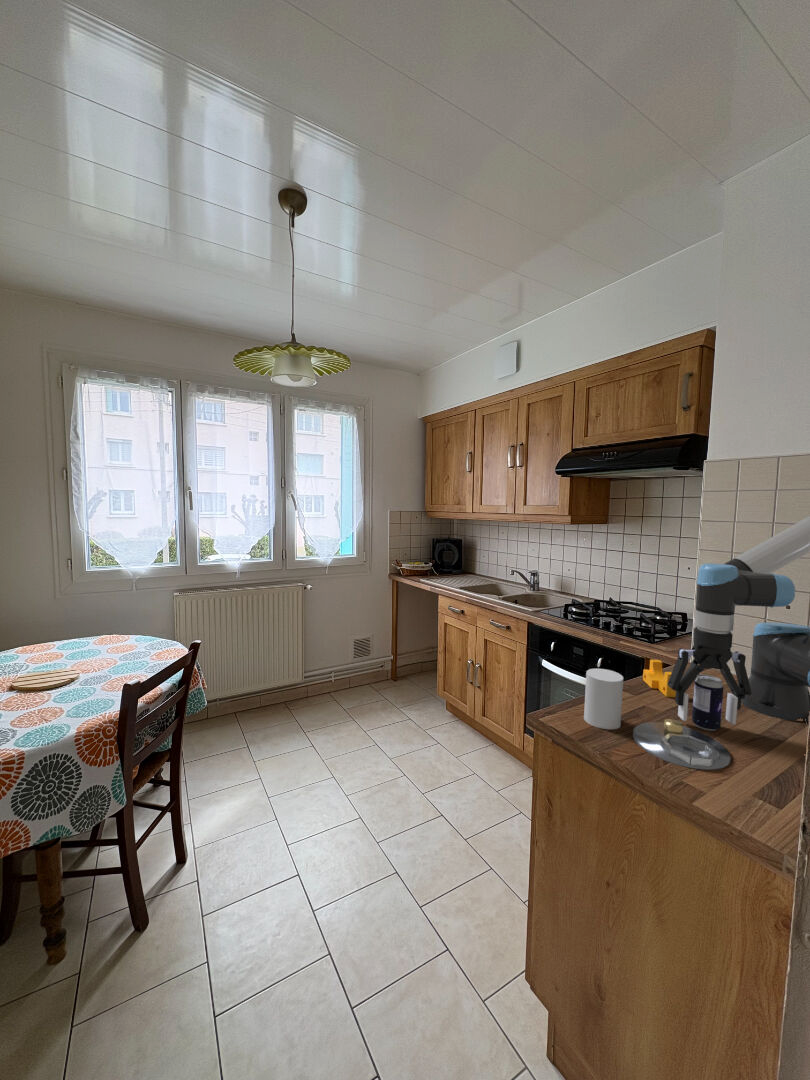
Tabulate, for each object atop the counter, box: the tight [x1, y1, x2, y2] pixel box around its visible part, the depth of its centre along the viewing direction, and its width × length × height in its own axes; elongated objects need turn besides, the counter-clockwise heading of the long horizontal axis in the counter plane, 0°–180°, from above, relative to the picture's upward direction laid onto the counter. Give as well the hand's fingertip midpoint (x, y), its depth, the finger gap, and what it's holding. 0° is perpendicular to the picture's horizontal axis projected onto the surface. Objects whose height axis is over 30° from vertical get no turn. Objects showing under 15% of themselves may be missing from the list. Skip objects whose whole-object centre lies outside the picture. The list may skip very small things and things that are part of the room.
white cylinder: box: [583, 668, 624, 730], centre depth 106 cm, size 8×8×12 cm
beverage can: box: [691, 674, 724, 732], centre depth 105 cm, size 6×6×12 cm
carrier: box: [632, 718, 732, 771], centre depth 96 cm, size 18×18×4 cm
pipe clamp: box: [642, 659, 676, 698], centre depth 128 cm, size 12×4×6 cm, turn 172°
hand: (706, 719), depth 105 cm, fingers open, 10 cm apart
